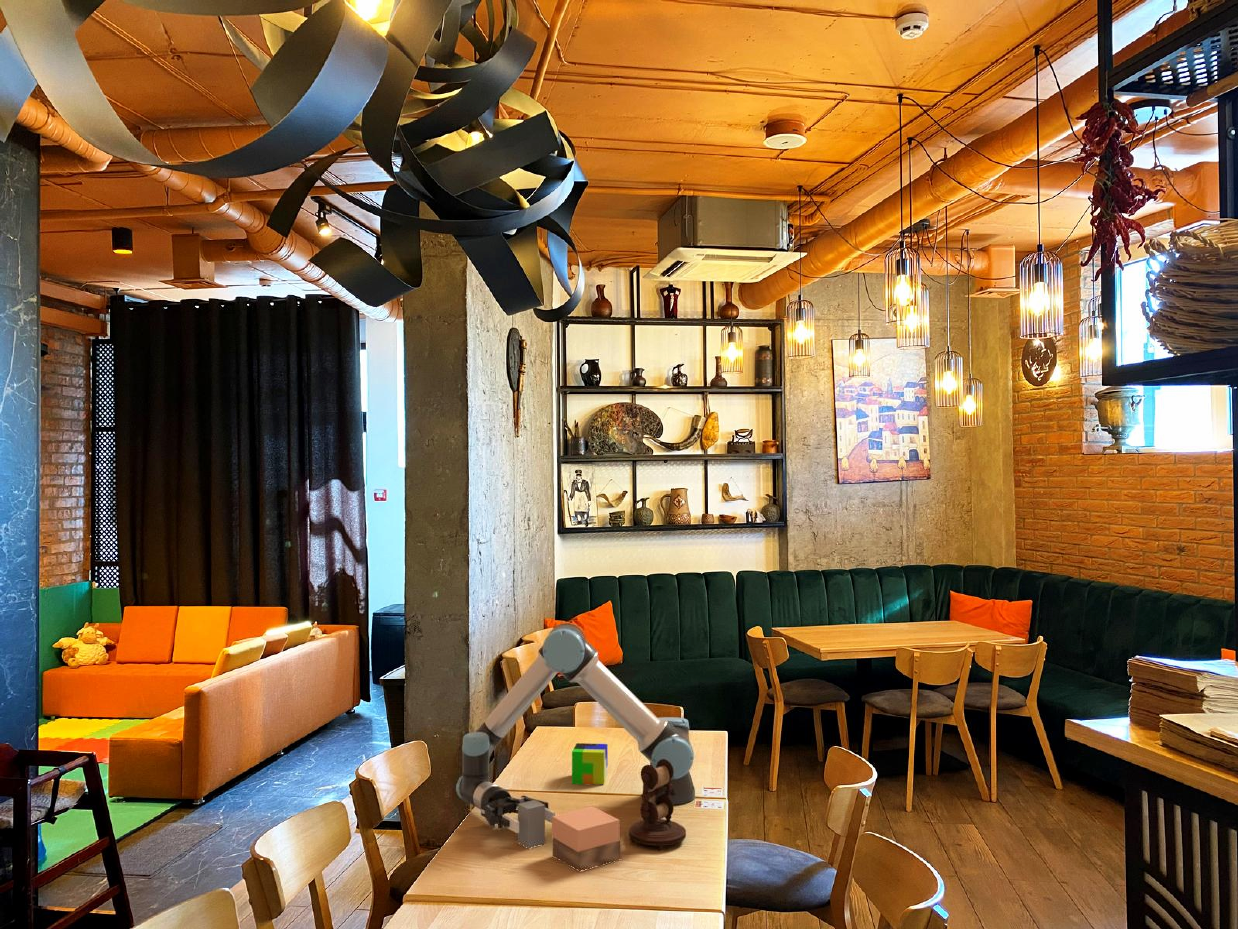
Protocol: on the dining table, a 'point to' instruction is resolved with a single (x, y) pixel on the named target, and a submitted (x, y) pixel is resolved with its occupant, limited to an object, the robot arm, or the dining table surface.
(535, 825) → the grey block
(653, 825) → the scroll
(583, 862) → the tower bottom
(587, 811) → the tower top
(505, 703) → the robot arm
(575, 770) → the puzzle toy
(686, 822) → the dining table surface
